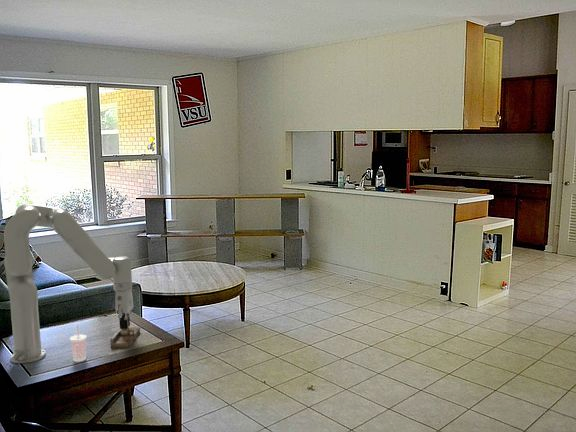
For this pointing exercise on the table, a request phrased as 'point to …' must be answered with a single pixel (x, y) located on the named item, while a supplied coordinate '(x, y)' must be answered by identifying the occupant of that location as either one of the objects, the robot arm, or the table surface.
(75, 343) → the beverage cup
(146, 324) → the table surface
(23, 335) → the robot arm
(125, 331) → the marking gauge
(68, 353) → the table surface
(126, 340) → the wooden slotted block
